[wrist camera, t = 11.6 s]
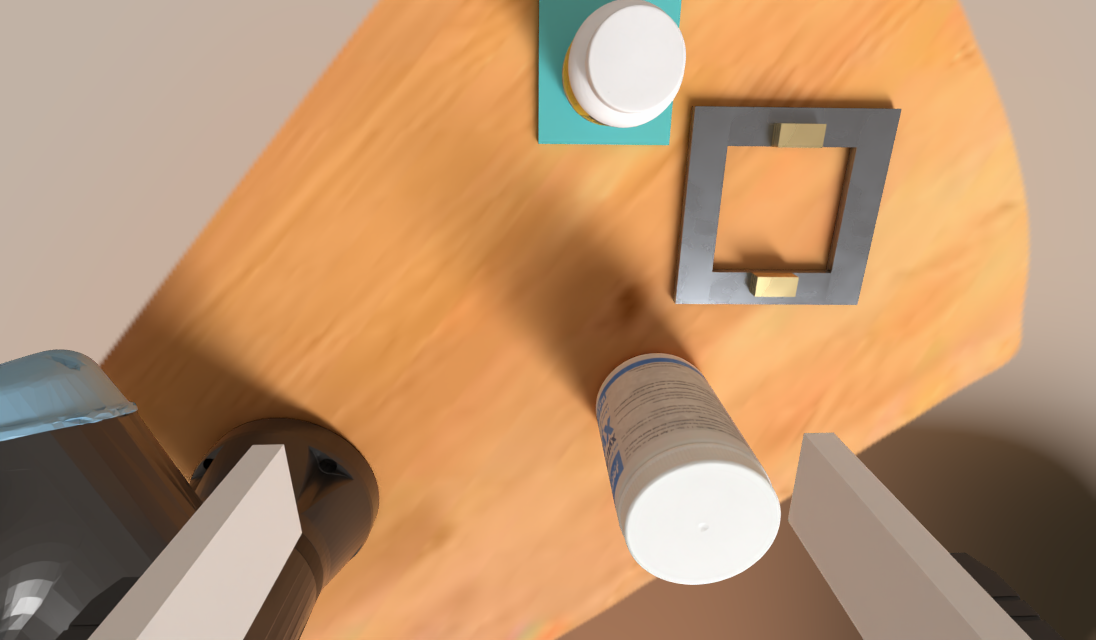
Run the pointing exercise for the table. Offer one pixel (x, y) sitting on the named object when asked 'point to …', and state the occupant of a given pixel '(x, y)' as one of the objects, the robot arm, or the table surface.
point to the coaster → (559, 20)
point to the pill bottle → (624, 64)
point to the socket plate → (795, 129)
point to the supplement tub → (682, 473)
